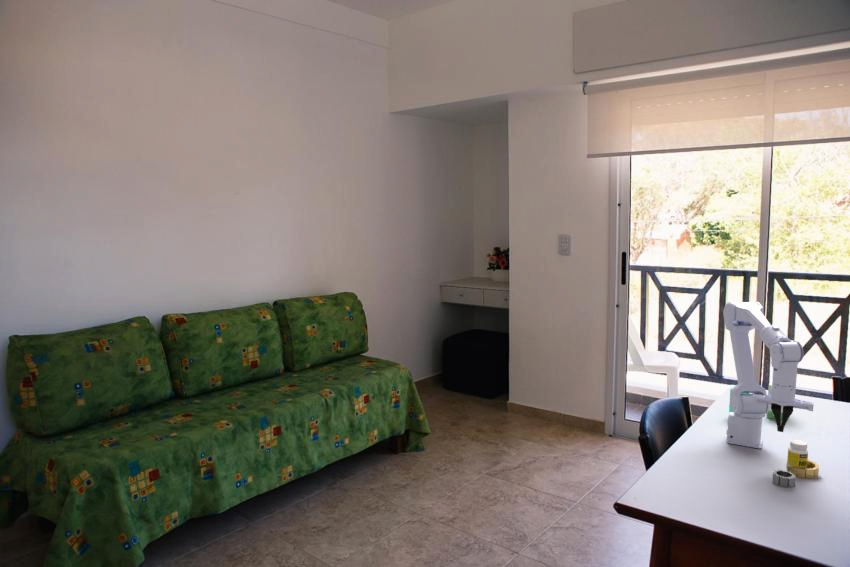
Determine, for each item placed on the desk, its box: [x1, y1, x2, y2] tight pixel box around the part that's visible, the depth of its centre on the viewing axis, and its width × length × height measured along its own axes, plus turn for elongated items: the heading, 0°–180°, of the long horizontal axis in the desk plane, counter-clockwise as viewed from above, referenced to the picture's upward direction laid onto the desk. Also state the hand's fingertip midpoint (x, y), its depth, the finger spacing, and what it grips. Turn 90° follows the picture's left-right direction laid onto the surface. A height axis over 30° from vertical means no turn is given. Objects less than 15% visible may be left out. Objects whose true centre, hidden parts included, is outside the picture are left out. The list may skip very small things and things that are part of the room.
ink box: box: [766, 378, 783, 421], centre depth 211 cm, size 8×5×12 cm, turn 146°
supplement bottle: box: [786, 439, 809, 470], centre depth 168 cm, size 5×5×8 cm
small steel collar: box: [771, 469, 796, 489], centre depth 161 cm, size 5×5×2 cm
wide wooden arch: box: [786, 459, 820, 480], centre depth 167 cm, size 7×8×2 cm
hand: (780, 430), depth 170 cm, fingers closed
